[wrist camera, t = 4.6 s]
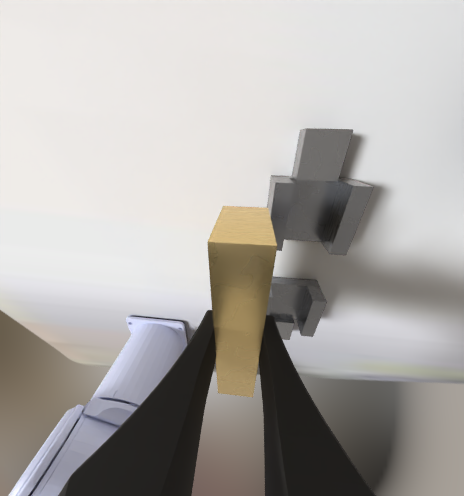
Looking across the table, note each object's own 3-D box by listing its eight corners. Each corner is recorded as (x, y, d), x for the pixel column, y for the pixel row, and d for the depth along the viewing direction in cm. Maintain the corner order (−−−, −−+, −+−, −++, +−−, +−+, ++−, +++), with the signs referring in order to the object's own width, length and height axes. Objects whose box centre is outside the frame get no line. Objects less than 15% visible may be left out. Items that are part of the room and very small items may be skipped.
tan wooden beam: (252, 341, 16) (252, 397, 12) (225, 338, 16) (218, 393, 12) (268, 207, 10) (277, 245, 6) (223, 206, 10) (207, 241, 6)
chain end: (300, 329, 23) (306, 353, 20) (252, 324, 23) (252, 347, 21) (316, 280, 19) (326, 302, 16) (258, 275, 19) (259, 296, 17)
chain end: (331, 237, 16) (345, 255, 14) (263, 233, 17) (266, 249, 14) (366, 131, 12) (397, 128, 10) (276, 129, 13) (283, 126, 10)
